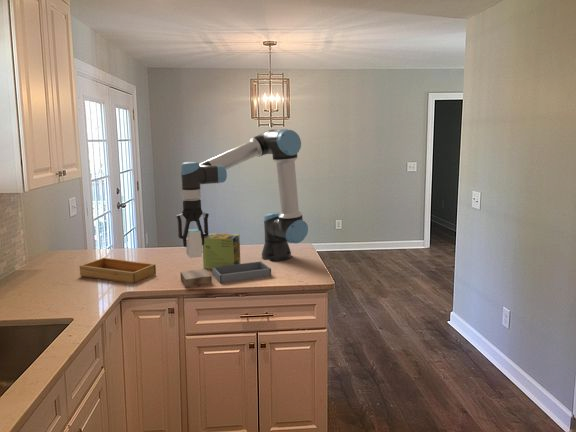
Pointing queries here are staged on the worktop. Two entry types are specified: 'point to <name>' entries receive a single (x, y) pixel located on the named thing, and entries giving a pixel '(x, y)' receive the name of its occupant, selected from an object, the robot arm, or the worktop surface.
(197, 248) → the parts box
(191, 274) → the stand
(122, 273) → the tray
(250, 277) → the bin
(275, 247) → the robot arm
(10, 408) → the worktop surface
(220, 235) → the protein box
